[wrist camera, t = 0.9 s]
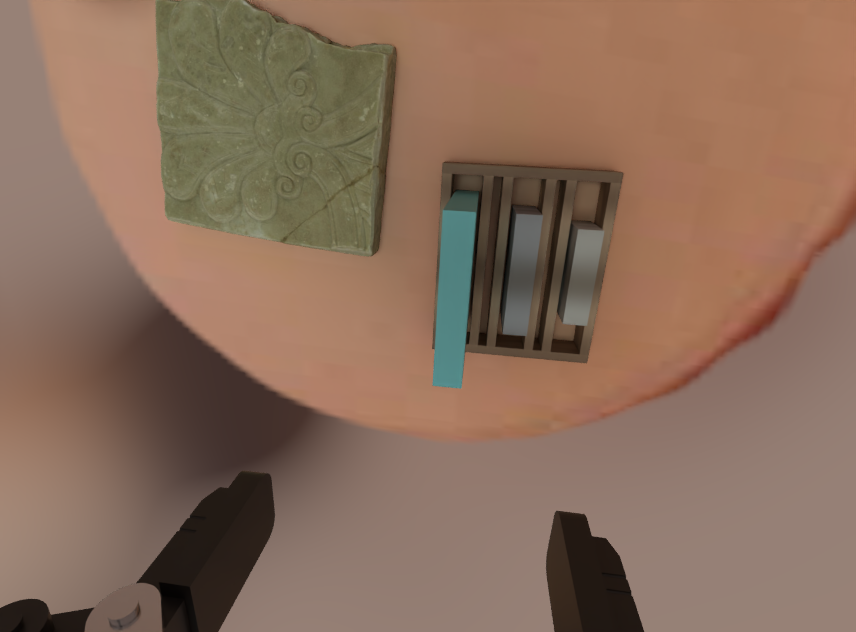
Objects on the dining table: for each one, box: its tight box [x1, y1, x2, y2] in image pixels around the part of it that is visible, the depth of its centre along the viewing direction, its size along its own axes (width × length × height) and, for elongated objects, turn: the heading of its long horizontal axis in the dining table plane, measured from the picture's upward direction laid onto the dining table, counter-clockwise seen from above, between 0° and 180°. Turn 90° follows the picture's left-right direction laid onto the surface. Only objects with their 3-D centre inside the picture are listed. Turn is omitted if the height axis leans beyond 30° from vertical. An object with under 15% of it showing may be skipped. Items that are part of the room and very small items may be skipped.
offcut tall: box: [500, 205, 543, 336], centre depth 39 cm, size 10×2×6 cm, turn 177°
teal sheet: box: [433, 190, 479, 388], centre depth 36 cm, size 12×2×14 cm, turn 177°
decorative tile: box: [156, 0, 396, 256], centre depth 39 cm, size 19×20×4 cm
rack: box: [432, 162, 623, 363], centre depth 40 cm, size 17×14×3 cm
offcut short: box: [557, 220, 604, 326], centre depth 39 cm, size 8×2×5 cm, turn 178°
